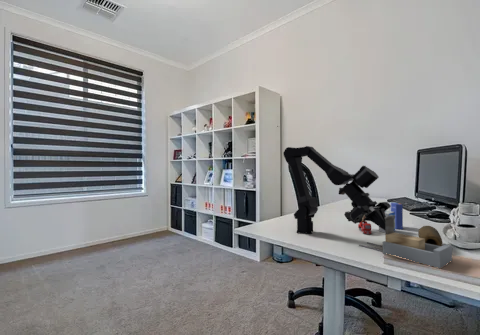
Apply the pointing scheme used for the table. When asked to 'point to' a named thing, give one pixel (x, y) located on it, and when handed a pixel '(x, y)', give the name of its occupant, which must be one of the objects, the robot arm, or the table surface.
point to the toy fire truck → (364, 226)
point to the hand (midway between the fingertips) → (387, 230)
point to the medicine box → (387, 214)
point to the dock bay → (419, 253)
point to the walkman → (397, 214)
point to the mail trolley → (401, 236)
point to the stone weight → (430, 235)
